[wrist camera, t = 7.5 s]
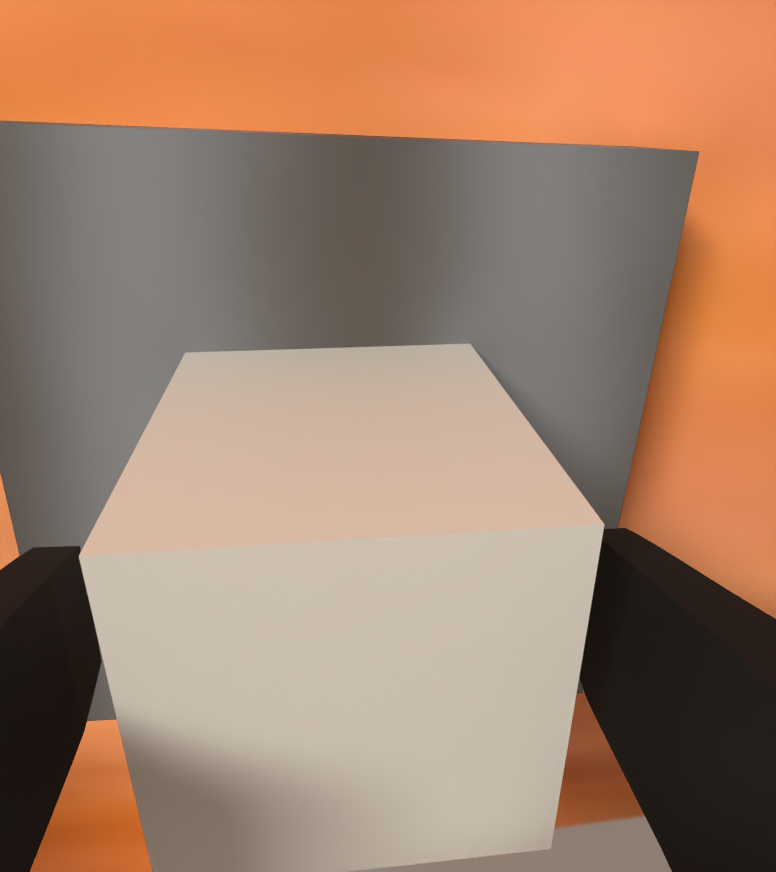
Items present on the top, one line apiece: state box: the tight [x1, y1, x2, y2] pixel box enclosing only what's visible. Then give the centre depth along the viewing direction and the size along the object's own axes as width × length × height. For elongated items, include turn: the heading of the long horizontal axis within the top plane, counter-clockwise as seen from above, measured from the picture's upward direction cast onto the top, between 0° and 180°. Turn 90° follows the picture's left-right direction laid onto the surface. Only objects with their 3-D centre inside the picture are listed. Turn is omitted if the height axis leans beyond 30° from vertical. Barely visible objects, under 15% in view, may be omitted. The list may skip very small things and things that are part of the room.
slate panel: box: [0, 121, 699, 721], centre depth 14 cm, size 12×12×3 cm
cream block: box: [79, 344, 604, 872], centre depth 10 cm, size 5×5×6 cm
